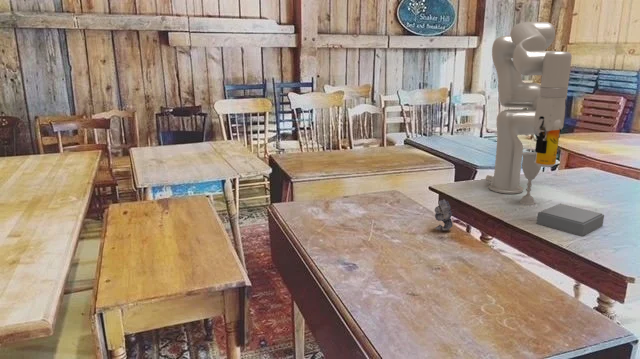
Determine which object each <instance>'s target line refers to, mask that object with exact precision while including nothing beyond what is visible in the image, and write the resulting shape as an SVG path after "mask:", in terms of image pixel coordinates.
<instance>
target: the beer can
mask: <svg viewBox="0 0 640 359" xmlns="http://www.w3.org/2000/svg"><path fill="white" fill-rule="evenodd" d="M560 125H561V121H560V119H556V121H555V122H554V124H553V127H552V130H551V131H549V132H548V135H547V139H546V141H547V148H546V153H545V154H543V153H537V152H535V151H534V152H535V161H534V162H535V163H536V165H537V166H541V168H552V167H554V166H555V165H556V163H557V155H558V149H557V148H559V142H558V140H559V141H560V137H559V133H560ZM541 130H545V128H541ZM542 133H543V132H542ZM560 134H561V133H560ZM543 135H544V133H543Z"/></svg>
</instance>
